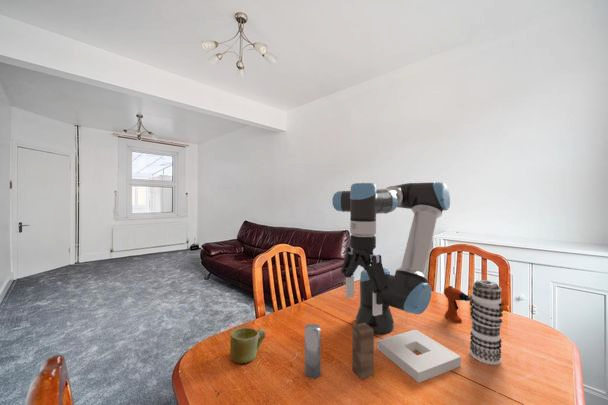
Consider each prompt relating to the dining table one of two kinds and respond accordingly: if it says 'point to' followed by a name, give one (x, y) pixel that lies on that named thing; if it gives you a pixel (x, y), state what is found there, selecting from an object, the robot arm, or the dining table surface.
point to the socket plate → (418, 366)
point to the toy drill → (454, 303)
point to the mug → (245, 344)
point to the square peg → (363, 350)
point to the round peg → (312, 350)
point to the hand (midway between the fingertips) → (362, 305)
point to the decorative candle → (486, 322)
